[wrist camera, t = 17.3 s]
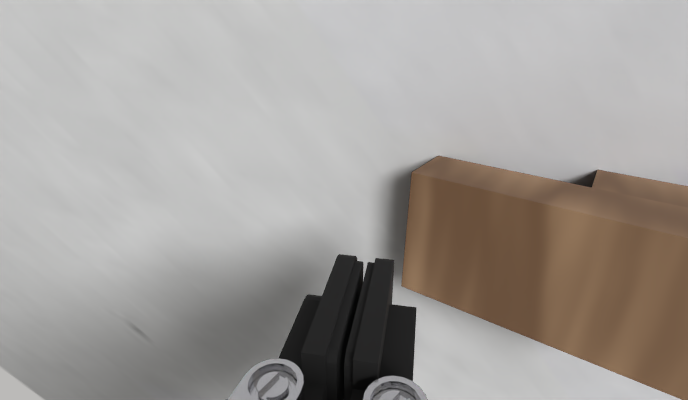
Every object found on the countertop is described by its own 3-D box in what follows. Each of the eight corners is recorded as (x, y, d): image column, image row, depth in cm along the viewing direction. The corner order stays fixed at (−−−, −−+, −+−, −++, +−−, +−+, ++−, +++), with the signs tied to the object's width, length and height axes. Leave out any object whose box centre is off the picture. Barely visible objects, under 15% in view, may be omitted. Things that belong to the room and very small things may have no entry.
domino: (401, 286, 17) (712, 412, 12) (411, 172, 15) (795, 263, 10) (426, 260, 19) (705, 359, 14) (438, 155, 17) (774, 225, 11)
